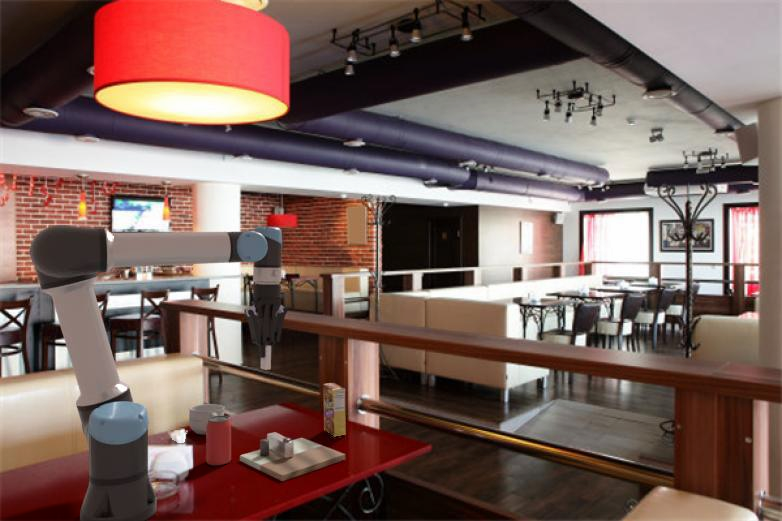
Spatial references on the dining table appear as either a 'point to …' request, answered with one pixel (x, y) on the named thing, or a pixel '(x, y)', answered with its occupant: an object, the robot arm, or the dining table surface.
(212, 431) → the beer can
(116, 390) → the robot arm
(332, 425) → the candy box
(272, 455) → the board
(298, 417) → the dining table surface
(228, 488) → the dining table surface
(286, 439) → the bar
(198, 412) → the teacup
